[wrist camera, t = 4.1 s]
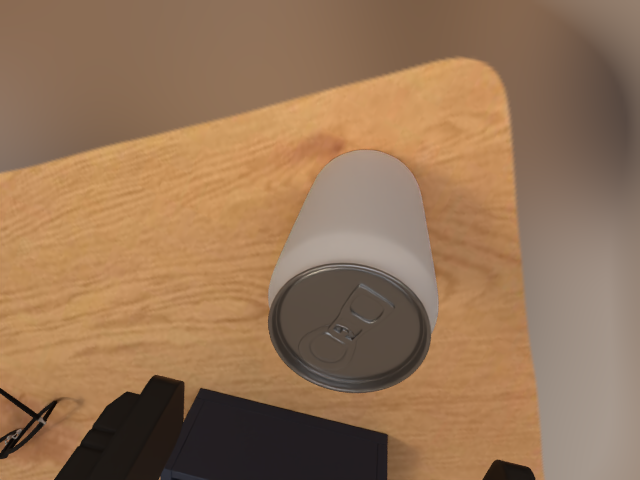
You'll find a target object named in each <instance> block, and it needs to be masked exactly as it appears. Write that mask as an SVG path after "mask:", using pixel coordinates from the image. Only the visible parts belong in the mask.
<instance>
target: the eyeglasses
mask: <svg viewBox="0 0 640 480" xmlns="http://www.w3.org/2000/svg"><path fill="white" fill-rule="evenodd" d="M0 394H2V395H3V396H5V397H6V398H7V399H9V400H10V401H11V402H13V403H14V404H15V405H17V406H18V407H19V408H21V409H22V410H23V411H25V412H26V413H27V414H29V415H30V416H31V417H33V419H32V420H31V421H30V422H29V423H28V425H27V426H26V427H25V428H24V429H23V430H21V429H19V430H17V431H16V430H15V431H12V432H10V433H8V434H7V435H5V436H4V437H2V438H1V439H0V443H1V442H2V441H3V440H5V439H6V438H7V439H6V440H5V445H6V446H5V447H4V449H3V450H2V451H1V453H0V459H4V458H7V457H8V455H9V454H10V453H13V452H15V451H16V450H18V449H19V448H20V447H22V446H23V445H24V444H25V443H27V442H28V441H29V440H30V439H31V438H32V437H33V436H34V435H35V434H36V433H37V432H38V431H39V430H40V429H41V428H42V427H43V426H44V425H45V424H46V421H47V418H48V417H49V415H50V414H51V412H52V410H53V409H54V407H55V406H56V404H57V402H56V401H53V402H52V403H50V404H49V405H48V406H46V407H45V408H44V409H43V410H42V411H41V412H39V413H38V414H37V413H35V412H34V411H32V410H31V409H29V408H28V407H27V406H25V405H24V404H22V403H21V402H19V401H18V400H17V399H15V398H14V397H12V396H11V395H10V394H8V393H7V392H5V391H4V390H2V389H1V388H0ZM47 410H48V411H47ZM46 411H47V412H46ZM44 412H46V414H45V415H44V417H43V418H42V417H41V415H42V414H43V413H44ZM36 420H37V421H39V424H38V425H37V426H36V427H35V429H34V430H33V431H32V432H31V433H30V434H29V435H28V436H27V437H26V438H25V439H24V440H22V441H21V442H20V443H19V444H18V445H16V443H17V442H18V441H19V439H20V438H21V437H22V436H23V435H24V433H25V432H26V431H27V430H28V429H29V428H30V426H31V425H32V424H33V423H34V422H35V421H36ZM17 434H18V435H17ZM16 436H17V437H16ZM15 437H16V438H15ZM14 439H15V440H14ZM7 440H9V442H6V441H7ZM15 445H16V446H15ZM14 446H15V447H14Z"/></svg>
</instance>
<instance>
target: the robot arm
mask: <svg viewBox="0 0 640 480" xmlns="http://www.w3.org/2000/svg"><path fill="white" fill-rule="evenodd" d="M183 414H184V382H183V381H179V380H175V379H171V378H167V377H163V376H159V375H154V376H153V377H152V378H151V379H150V380H149V382H148V383H147V385H146V386H145V388H144V389H143V391H142V392H141V394H140V395H139V394H135V393H131V392H125V393H124V394H123V395H121V396H120V397H119V398H117V399H116V400H114V401H113V402H112V403H110V404H109V405H108V406H107V407H106V408H105V409H104V411H103V412H102V414H101V415H100V416H99V418H98V419H97V421H96V422H95V423H94V425H93V427H92V429H91V430H89V432H88V433H87V434H86V436H85V437H84V439H83V440H82V441H81V444H80V446H78V447H77V448H76V450H75V451H74V453H73V454H72V455H71V457H70V458H69V460H68V461H67V462H66V464H65V465H64V467H63V468H62V469H61V471H60V472H59V473H58V475H57V476H56V478H55V479H54V480H159V478H160V476H161V474H162V472H163V469H164V467H165V465H166V463H167V461H168V459H169V457H170V455H171V453H172V451H173V449H174V447H175V445H176V443H177V440H178V438H179V435H180V432H181V429H182V424H183ZM483 480H535V477H534V474H533V472H532V471H531V469H530V468H528V467H526V466H522V465H518V464H514V463H510V462H505V461H501V460H495V461H494V462H493V463H492V465H491V467H490V468H489V470H488V471H487V473H486V475H485V476H484V478H483Z"/></svg>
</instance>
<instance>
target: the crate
mask: <svg viewBox="0 0 640 480" xmlns="http://www.w3.org/2000/svg"><path fill="white" fill-rule="evenodd" d="M387 444H388V435H386V434H382V433H378V432H374V431H370V430H366V429H362V428H358V427H354V426H350V425H346V424H342V423H338V422H334V421H330V420H326V419H322V418H318V417H314V416H310V415H306V414H302V413H298V412H294V411H290V410H286V409H282V408H278V407H274V406H270V405H266V404H262V403H258V402H254V401H250V400H246V399H242V398H238V397H234V396H230V395H226V394H221V393H217V392H213V391H209V390H205V389H200V391H199V393H198V395H197V396H196V399H195V400H194V402H193V404H192V406H191V408H190V410H189V412H188V414H187V416H186V418H185V420H184V422H183V424H182V429H181V432H180V435H179V438H178V440H177V443H176V445H175V447H174V449H173V451H172V453H171V455H170V457H169V459H168V461H167V463H166V465H165V467H164V469H163V472H162V474H161V476H160V477H161V480H387Z"/></svg>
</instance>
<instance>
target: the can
mask: <svg viewBox="0 0 640 480" xmlns="http://www.w3.org/2000/svg"><path fill="white" fill-rule="evenodd" d="M268 301H269V309H270V311H269V316H268V329H269V334H270V338H271V341H272V344H273V346H274V348H275V350H276V352H277V353H278V355H279V356H280V358H281V359H282V360H283V361H284V363H285V364H286V365H287V366H288V367H289V368H290V369H292V370H293V371H294V372H295V373H297V374H298V375H299V376H301V377H302V378H304V379H306V380H307V381H309V382H311V383H313V384H316V385H318V386H321V387H323V388H327V389H330V390H334V391H339V392H347V393H367V392H374V391H379V390H383V389H386V388H389V387H391V386H394V385H396V384H398V383H400V382H402V381H403V380H405V379H406V378H408V377H409V376H410V375H412V374H413V373H414V372H415V371H416V370H417V369H418V367H419V366H420V365H421V364H422V362H423V360H424V359H425V357H426V355H427V352H428V350H429V346H430V341H431V334H432V332H433V329H434V327H435V324H436V321H437V316H438V290H437V283H436V276H435V270H434V264H433V258H432V252H431V246H430V240H429V234H428V229H427V223H426V217H425V212H424V206H423V201H422V196H421V192H420V188H419V185H418V183H417V181H416V179H415V177H414V175H413V174H412V172H411V171H410V170H409V169H408V168H407V166H405V165H404V164H403V163H402V162H401V161H399V160H398V159H396V158H395V157H393V156H391V155H389V154H386V153H383V152H380V151H375V150H356V151H351V152H347V153H345V154H342V155H340V156H338V157H336V158H335V159H333V160H332V161H330V162H329V163H328V164H327V165H326V166H325V167H324V168H323V169H322V170H321V171H320V173H319V174H318V176H317V177H316V179H315V181H314V183H313V185H312V187H311V189H310V191H309V193H308V195H307V197H306V200H305V202H304V204H303V206H302V208H301V210H300V212H299V215H298V217H297V219H296V221H295V223H294V226H293V228H292V230H291V232H290V234H289V237H288V239H287V241H286V243H285V245H284V248H283V250H282V252H281V254H280V257H279V259H278V261H277V264H276V266H275V269H274V271H273V274H272V277H271V281H270V285H269V292H268Z"/></svg>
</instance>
